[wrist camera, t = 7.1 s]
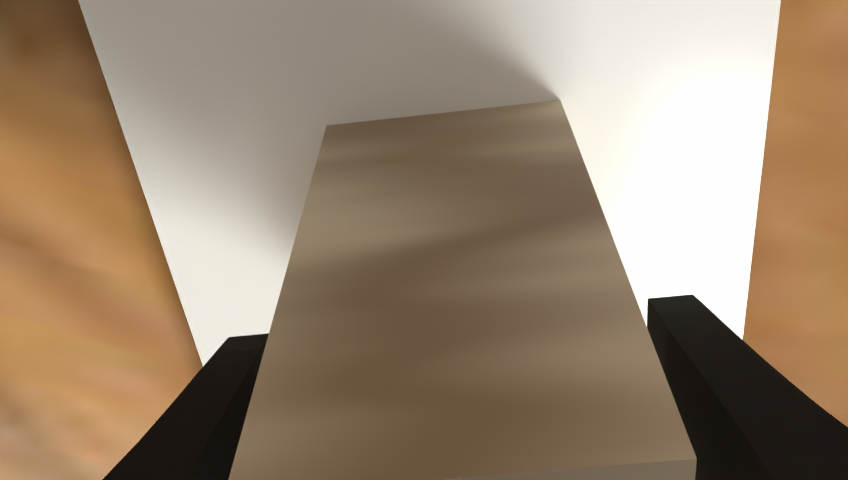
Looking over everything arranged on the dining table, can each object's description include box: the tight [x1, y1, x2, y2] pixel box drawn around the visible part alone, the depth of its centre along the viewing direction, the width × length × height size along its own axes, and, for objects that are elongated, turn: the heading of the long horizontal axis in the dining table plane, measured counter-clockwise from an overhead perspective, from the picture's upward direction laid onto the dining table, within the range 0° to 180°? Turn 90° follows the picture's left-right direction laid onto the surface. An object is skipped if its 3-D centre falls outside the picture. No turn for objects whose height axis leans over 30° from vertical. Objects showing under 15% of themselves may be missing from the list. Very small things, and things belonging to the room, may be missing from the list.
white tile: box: [78, 0, 781, 366], centre depth 15 cm, size 11×11×1 cm
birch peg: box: [228, 100, 697, 480], centre depth 11 cm, size 4×4×8 cm
